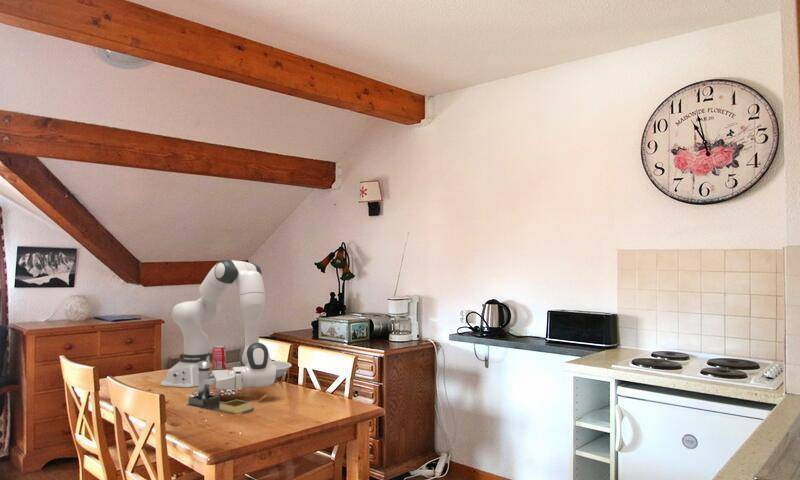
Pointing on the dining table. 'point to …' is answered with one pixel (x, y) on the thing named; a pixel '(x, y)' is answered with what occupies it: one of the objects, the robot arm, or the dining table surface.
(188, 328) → the robot arm
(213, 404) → the plate
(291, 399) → the dining table surface
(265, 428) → the dining table surface
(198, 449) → the dining table surface
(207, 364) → the tube
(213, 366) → the soda can
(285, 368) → the soup bowl
